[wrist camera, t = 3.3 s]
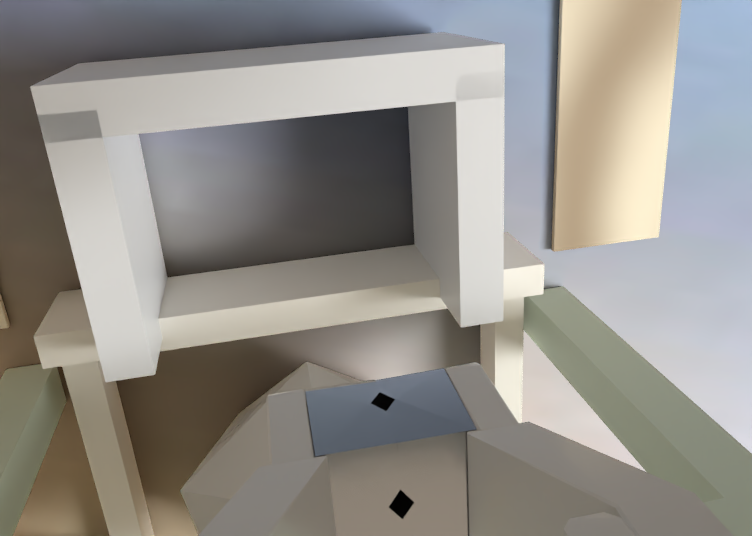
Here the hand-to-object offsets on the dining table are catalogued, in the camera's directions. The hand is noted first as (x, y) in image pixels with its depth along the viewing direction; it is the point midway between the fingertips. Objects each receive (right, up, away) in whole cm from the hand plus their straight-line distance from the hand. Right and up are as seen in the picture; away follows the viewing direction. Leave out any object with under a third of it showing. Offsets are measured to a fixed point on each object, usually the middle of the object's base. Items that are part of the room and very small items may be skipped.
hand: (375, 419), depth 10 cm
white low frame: (-2, -1, +14) cm, 14 cm away
